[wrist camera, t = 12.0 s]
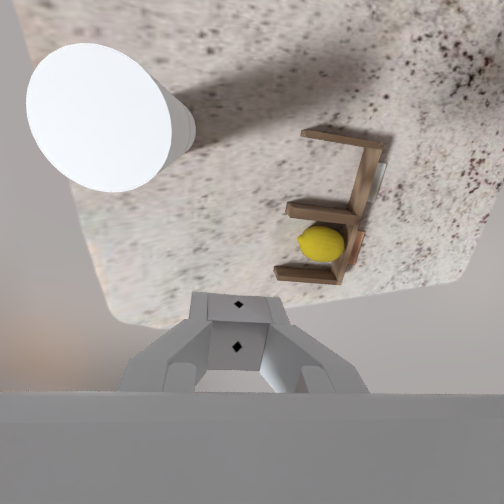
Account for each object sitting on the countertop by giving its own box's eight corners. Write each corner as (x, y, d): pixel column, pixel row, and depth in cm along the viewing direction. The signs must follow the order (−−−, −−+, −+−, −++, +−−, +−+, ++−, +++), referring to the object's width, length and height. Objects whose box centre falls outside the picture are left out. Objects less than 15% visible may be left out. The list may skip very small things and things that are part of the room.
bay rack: (301, 130, 40) (309, 130, 37) (390, 145, 42) (405, 147, 39) (273, 270, 48) (277, 280, 45) (349, 276, 51) (358, 286, 47)
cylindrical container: (159, 84, 36) (66, 4, 13) (206, 123, 38) (197, 113, 15) (130, 132, 38) (1, 136, 15) (177, 167, 40) (129, 216, 17)
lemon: (293, 224, 46) (337, 234, 48) (288, 257, 46) (332, 266, 48) (307, 217, 41) (356, 229, 43) (302, 254, 40) (351, 265, 42)
